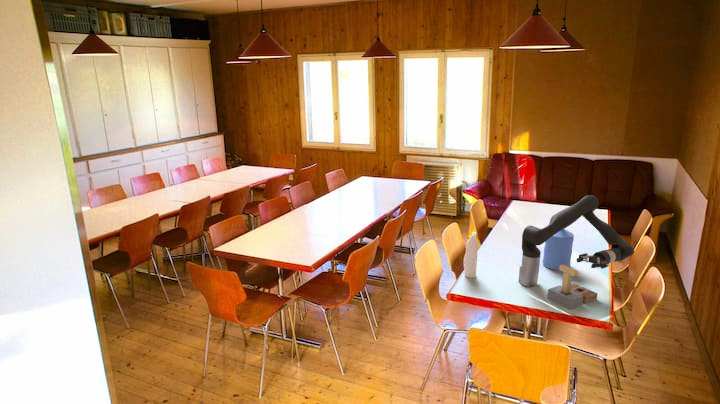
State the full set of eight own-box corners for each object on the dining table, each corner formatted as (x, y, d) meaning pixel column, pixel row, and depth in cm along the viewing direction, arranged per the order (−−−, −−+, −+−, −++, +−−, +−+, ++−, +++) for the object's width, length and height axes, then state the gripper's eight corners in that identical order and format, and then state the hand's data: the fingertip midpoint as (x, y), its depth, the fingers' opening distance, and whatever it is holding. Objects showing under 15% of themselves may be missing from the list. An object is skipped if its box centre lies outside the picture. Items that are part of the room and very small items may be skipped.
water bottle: (474, 278, 273) (477, 237, 266) (463, 276, 276) (465, 236, 269) (477, 272, 281) (480, 232, 274) (466, 271, 283) (468, 231, 276)
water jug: (572, 271, 281) (578, 226, 274) (544, 269, 284) (549, 225, 277) (567, 261, 296) (572, 218, 288) (540, 259, 299) (545, 217, 291)
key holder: (546, 299, 249) (548, 289, 247) (558, 295, 253) (559, 285, 251) (570, 311, 237) (571, 300, 235) (581, 306, 241) (583, 295, 239)
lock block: (561, 294, 254) (562, 286, 253) (572, 290, 258) (573, 283, 257) (585, 305, 242) (586, 297, 241) (596, 301, 247) (597, 293, 245)
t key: (555, 298, 248) (559, 265, 242) (559, 297, 249) (563, 264, 244) (570, 305, 240) (574, 271, 235) (573, 304, 242) (578, 270, 236)
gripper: (593, 246, 259) (573, 252, 251) (618, 255, 247) (598, 261, 239) (591, 259, 261) (571, 265, 253) (615, 268, 249) (596, 275, 242)
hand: (584, 263), depth 246 cm, fingers open, 8 cm apart
